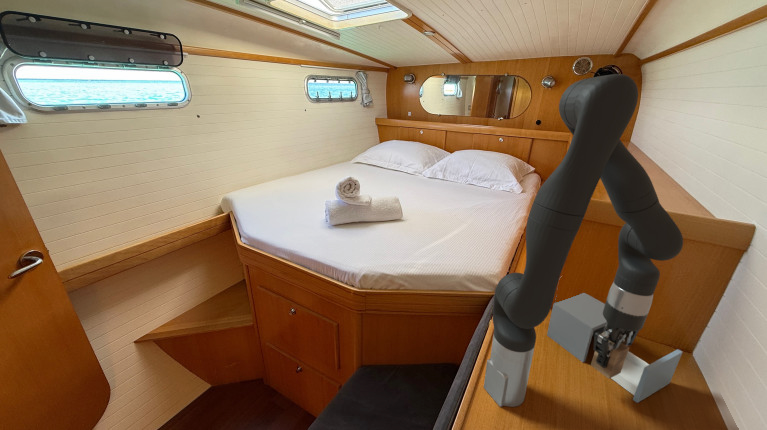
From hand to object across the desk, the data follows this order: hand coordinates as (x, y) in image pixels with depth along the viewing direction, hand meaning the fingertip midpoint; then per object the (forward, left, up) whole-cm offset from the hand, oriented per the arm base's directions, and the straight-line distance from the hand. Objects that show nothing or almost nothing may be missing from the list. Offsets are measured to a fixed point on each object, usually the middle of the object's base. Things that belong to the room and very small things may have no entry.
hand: (607, 361), depth 73 cm
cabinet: (+12, +14, -10) cm, 21 cm away
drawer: (+12, 0, -10) cm, 16 cm away
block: (0, 0, -2) cm, 2 cm away
